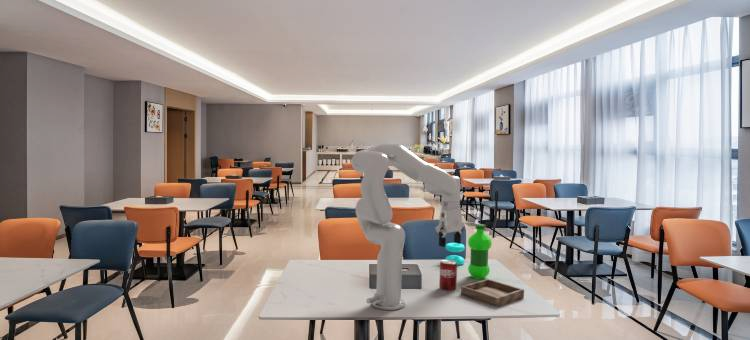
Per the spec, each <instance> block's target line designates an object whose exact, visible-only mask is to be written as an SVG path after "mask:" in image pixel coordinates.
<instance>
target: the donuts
mask: <svg viewBox="0 0 750 340" xmlns="http://www.w3.org/2000/svg"><path fill="white" fill-rule="evenodd" d="M444 248H445V250H446V251H448V252H450V253H461V252H463V251H465V244H463V243H460V244H458V243H454V242H449V243H446V246H445V247H444ZM444 260H453V261H456V263H457V266H461V265H464V263H465V258H464V257H462V256H460V255H456V254H452V255H447V256H445V259H444Z"/></svg>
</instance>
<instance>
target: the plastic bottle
mask: <svg viewBox="0 0 750 340" xmlns="http://www.w3.org/2000/svg"><path fill="white" fill-rule="evenodd" d="M475 229H476V231H475V232H474V233H473V234H471V236H470V237H469V238H468V240H467V244H468V246H469V248H470V263H469V265H468V267H467V271H468V273H469V274H470V276H471V277H472V278H473V279H475V280H485V278H486V277H487V276H488V275H489V274H490V267H489V262H488V261H489V249H491V247H492V239H491V238H490V236H488V235H487V234H486V233H485V232H484V230H486V225H485V224H482V223H476V224H475Z"/></svg>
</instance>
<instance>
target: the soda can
mask: <svg viewBox="0 0 750 340" xmlns="http://www.w3.org/2000/svg"><path fill="white" fill-rule="evenodd" d="M438 280H439V284H438V287H439V289H440V290H441V291H443V292H451V293H452V292H455V291H456V290H457V285H458V284H457V281H458V265H457V263H456V261H453V260H445V259H442V260H440V262H439V279H438Z"/></svg>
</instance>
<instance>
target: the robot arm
mask: <svg viewBox="0 0 750 340" xmlns="http://www.w3.org/2000/svg"><path fill="white" fill-rule="evenodd" d="M351 166H352V169H353V170H354V171H356V173H359V174H363V177H362V179H361V182H360V193H361V198H359V199H358V200H357V202H356V203H355V215H356V218H357V221H358V223H359V226H360V228H361V230H362V232H363V236H365V239H366V240H367V241H369V243H372V244H374V245H377V246H380V250H379V252H378V254H377V258H376V259H377V260H376V292H375V293H373V296H372V297H368V298H366V303H367V304H369V305H370V304H372V306H373V308H374V307H375V308H377V309H379V310H385V311H386V310H387V311H393V310H396V311H397V310H399V309H402V308H404V307H405V305H406V302H405V300H404V299H403V298H402V274H403V268H402V267H403V251H404V245H405V242H406V232H405V230H404V228H403V226H401V225H400V224H397V223H394V222H391V220H392V219H393V208H392V206H391V203H390V201H389V198H388V196H387V194H386V191H385V187H384V180H385V176H386V174H387V172H388V170H389V168H390V167H391V166H392V167H394V168H395V169H397V170H398V171H400V172H401V173H403V174H404V175H405V176H407V177H409V179H411V180H414V181H417V182H419V183H424V189H425V191H426V192H428V193H429V194H432V195H439V196H441V208H440V213H439V223H438V225H436V226H435V228H434V229H435V231H436V234H437V237H438V246H439V247H442V248H445V246H446V244H447V243H446V240H447V239H446V235H447V234H451V233H454V234H453V236H454V239H453V243H458V244H462V243H461V241H462V239H461V238H462V234H463V230H464V226H465V223H464V222H463V215H462V210H461V209H462V208H461V207H460V206H461V205H460V204H461V203H460V202H461V199H460V198H461V179H460V177H459V176H457V175H450V174H449V173H448V172H446V171H445V170H443V169H441V168H439V167H438V166H435V165H433V164H431V163H428V162H426V161H424V160H423V159H422V158H420V157H419V156H417V154H415V153H413V152H412V151H411V150H409V149H408V148H407V147H406V146H404V145H402V144H398V143H396V144H395V143H383V144H378V145H376V146H373V147H368V148H366V149H361V150H359V151H357V152H355V153H354V154H353V156H352V158H351ZM389 166H390V167H389Z"/></svg>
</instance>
